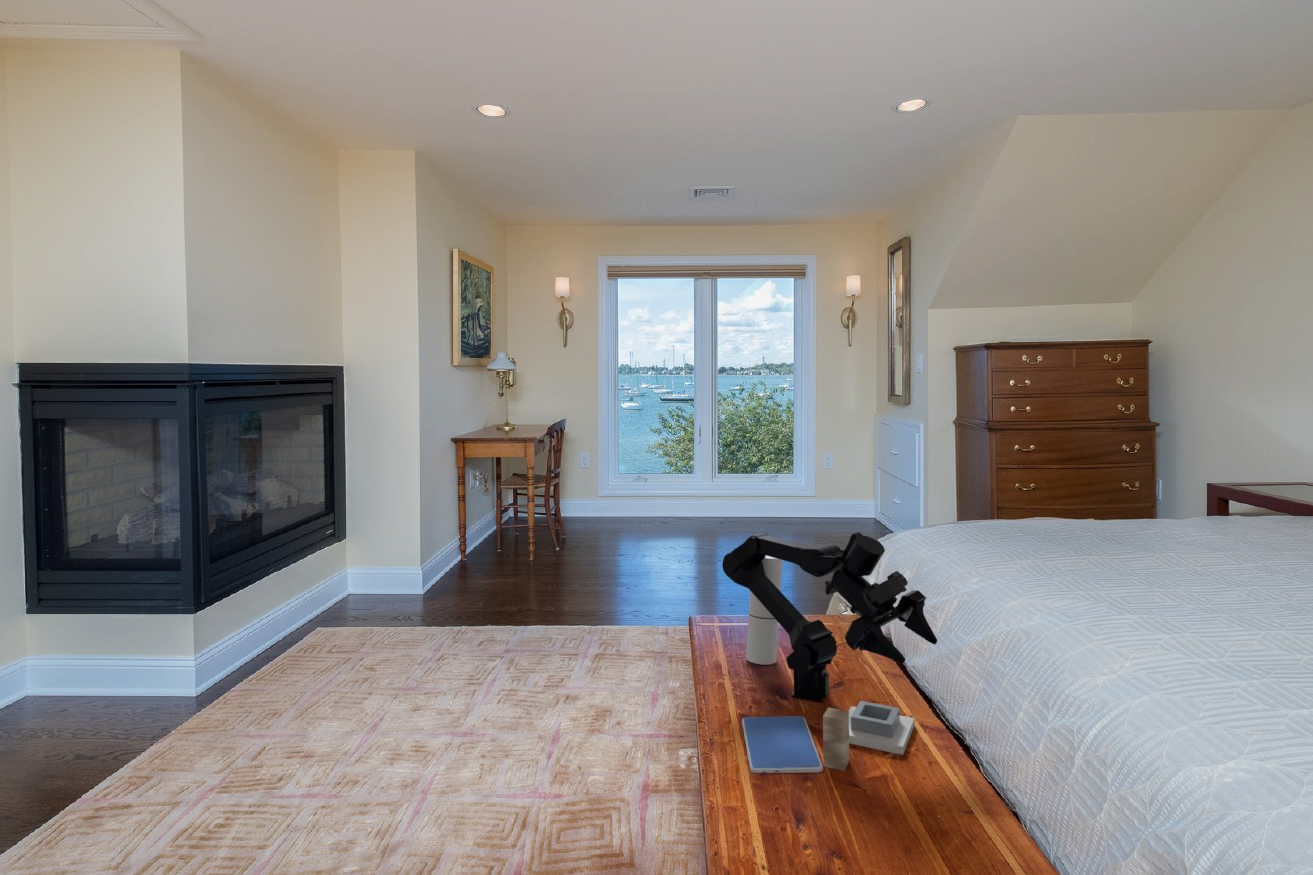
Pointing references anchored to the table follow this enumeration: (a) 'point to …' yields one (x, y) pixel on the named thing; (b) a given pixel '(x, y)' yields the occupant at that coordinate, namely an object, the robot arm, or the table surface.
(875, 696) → the table surface
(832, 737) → the peg
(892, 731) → the socket board
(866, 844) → the table surface
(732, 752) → the table surface
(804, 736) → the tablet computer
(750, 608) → the cylindrical container
